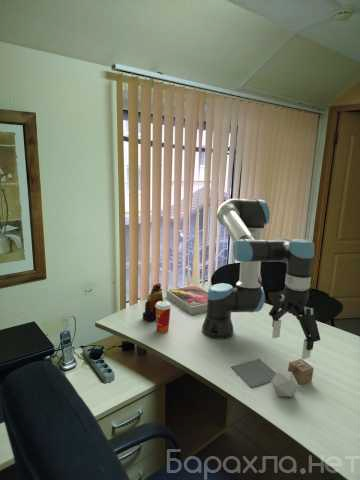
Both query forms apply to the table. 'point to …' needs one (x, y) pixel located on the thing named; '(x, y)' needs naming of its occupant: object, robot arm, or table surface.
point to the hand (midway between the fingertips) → (289, 346)
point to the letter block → (301, 371)
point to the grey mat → (254, 372)
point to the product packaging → (189, 298)
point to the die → (285, 384)
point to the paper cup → (162, 316)
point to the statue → (152, 303)
